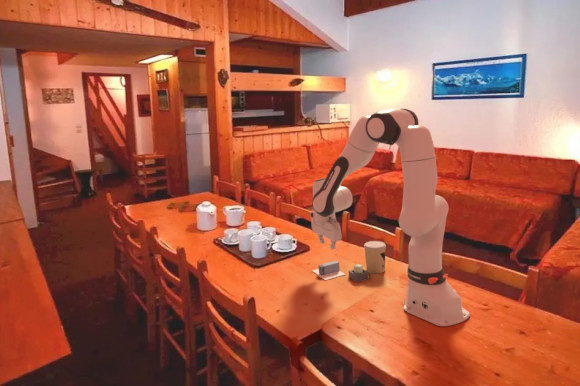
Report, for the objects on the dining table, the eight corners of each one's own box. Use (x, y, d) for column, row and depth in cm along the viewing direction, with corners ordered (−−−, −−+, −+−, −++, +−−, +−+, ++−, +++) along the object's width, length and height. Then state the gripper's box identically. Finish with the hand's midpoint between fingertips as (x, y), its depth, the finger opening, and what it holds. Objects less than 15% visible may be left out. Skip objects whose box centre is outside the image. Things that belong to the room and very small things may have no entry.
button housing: (368, 278, 169) (368, 272, 168) (356, 282, 167) (356, 275, 166) (360, 274, 174) (360, 267, 174) (348, 277, 172) (348, 270, 171)
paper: (345, 274, 175) (345, 274, 175) (325, 280, 171) (325, 279, 171) (331, 266, 185) (331, 265, 185) (312, 271, 182) (312, 270, 181)
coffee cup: (386, 274, 172) (386, 247, 170) (364, 274, 174) (363, 247, 172) (386, 265, 181) (385, 240, 178) (365, 265, 183) (364, 240, 180)
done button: (364, 275, 169) (364, 266, 168) (357, 277, 168) (356, 268, 167) (359, 272, 173) (359, 263, 172) (352, 274, 171) (351, 265, 170)
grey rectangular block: (336, 268, 181) (335, 260, 180) (339, 270, 179) (339, 262, 178) (318, 273, 178) (318, 265, 177) (321, 275, 175) (321, 267, 174)
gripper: (344, 218, 164) (346, 250, 167) (320, 209, 183) (322, 238, 185) (330, 221, 162) (333, 253, 165) (307, 212, 180) (310, 241, 183)
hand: (327, 245), depth 175 cm, fingers open, 8 cm apart
